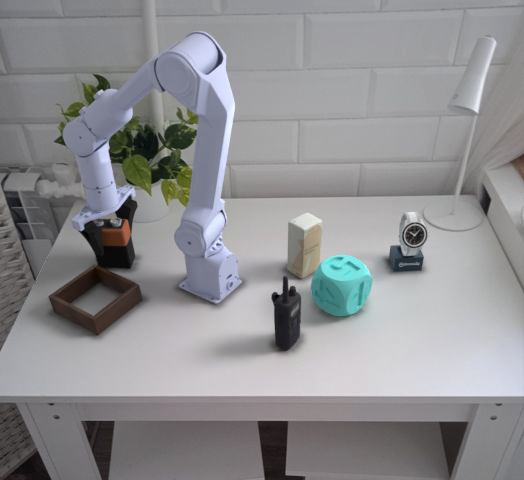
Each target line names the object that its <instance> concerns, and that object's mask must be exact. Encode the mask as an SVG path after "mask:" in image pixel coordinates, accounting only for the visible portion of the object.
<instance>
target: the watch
mask: <svg viewBox="0 0 524 480" xmlns="http://www.w3.org/2000/svg"><path fill="white" fill-rule="evenodd" d="M398 227H399V231H398V233H399V234H398V239H399V241H398V242H399V244H395V245H390V247H389V255H388V260H389V261H388V262H389V264H390V267H391V269H392V272H394V273H398V272H414V271H415V272H417V271H422V270H423V264H424V260H425V259H424V258H425V256H424V254H423V252H422V249H423V248H424V245H425V244H426V242H427V241H428V237H430V231H428V229H427V227H426V226H425V223H424V221H423V218H421V217H420V215H419V213H418V212H417V211H408V212H402V214H401V218H400V222H399V226H398Z"/></svg>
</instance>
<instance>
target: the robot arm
mask: <svg viewBox="0 0 524 480" xmlns="http://www.w3.org/2000/svg"><path fill="white" fill-rule="evenodd" d="M153 90H157V91H158V93H160V94H163V93H165V92H167V93H168V94H169V95H170V96H171V97H173V98H174V99H175V100H176V101H178V102H179V103H180V104H181V105H182V106H184V107H185V109H187V110H189V112H191V113H192V114H194V115H196V116H197V126H196V134H195V135H196V137H195V142H194V143H195V144H194V152H193V162H192V168H191V169H192V170H191V179H190V187H189V196H188V197H189V198H188V202H187V204H186V207H185V209H184V211H183V214H182V215H181V218H180V224H179V226H178V228H176V229H175V231H174V235H173V238H174V242H175V245H176V246H177V248H178V249H179V250H180V252H181V253H182V254H183V256H184V263H185V269H186V276H187V277H186V279H184V280H183V281H182V282H180V283H179V284H178V288H179V289H180V290H181V289H182V290H183V291H186V292H188V293H190V294H193V295H194V296H197V297H199V298H202V299H204V300H206V301H208V302H211V303H212V304H215V305H218V304H220V303H221V302H222V301H223V300H224V299H225V298H227V297H228V296H229V295H230V294H231V293H232V292H233V291H235V290H236V289H237V288H238V287H239V286H240V285H241V284H242V283H243V281H242V279H240V275H239V274H240V273H239V260H238V259H239V258H238V257H237V255H236V254H235V253H233V252H232V251H231V250H229V249H228V248H227V247H226V246H225V244H224V242H223V241H224V240H223V230H224V229H225V228H226V227H227V224H228V216H227V213H226V210H225V207H226V201H225V200H224V199H223V198H222V192H223V185H224V178H225V173H226V167H227V160H228V154H229V149H230V141H231V136H232V129H233V123H234V117H235V111H236V101H235V98H234V93H233V91H232V87H231V83H230V80H229V75H228V73H227V53H226V52H225V51H224V50H223V49H222V47H221V45H220V44H219V43H218V42H217V40H216V39H215V37H213V36H212V35H211V34H210V33H208V32H206V31H203V30H194V31H192V32H190V33H188V34H187V35H186V37H185V38H184V39H182V40H181V39H180V40H178V41H177V42H175V43H173V44H171V45H170V46H169V47H167V48H165V49H164V50H162V51H161V52H159V53H158V54H156V55H154V56H153V57H152V58H150V59H149V60H148V61H146V62H145V63H144V64H143V65H142V66H141V67H140V68H139V69H138V70H137V71H136V72H134V74H133V75H132V76H131V77H130V78H129V79H128V80H127V81H126V82H125V83H124V84H123V85H122V86H121V87H120V88H119V89H115V88H107V89H105V90H103V89H100V90H98V91H97V92H95V94H94V95H93V98H94V101H92V102H91V104H89V105H88V106H83V107H82V108H81V109H79V110H78V113H79V115H78V116H77V117H76V118H74V119H72V120H71V121H69V122H66V124H65V126H64V128H63V130H62V139H63V141H64V144H65V146H66V147H67V148H68V150H69V151H70V152H72V153H73V154H74V156H75V160H76V165H77V169H78V172H79V176H80V180H81V184H82V188H83V191H84V196H85V202H86V204H85V205H83V207H82V208H81V209H80V211H78V212H77V214H76V215H75V216H74V217H72V218H71V219H70V221H71V226H72V229H74V230H76V231H78V232H79V233H80V235H82V237H83V238H84V239H85V241H86V242H87V243H88V245H89V246H90V248H91V250H92V251H93V254H94V255H95V254H97V255H99V256H103V255H104V248H103V244H102V229H103V228H100V227H98V226H96V224H95V223H94V222H93V221H94V220H95V219H101V218H103V217H105V216H108V215H110V214H113V213H114V214H115V216H116V217H117V218H120V219H127V220H128V223H129V228H130V232H131V235H132V232H133V224H134V223H133V222H134V218H135V213H136V211H137V209H138V208H139V207H138V201H137V200H135V199H134V198H135V197H137V195H136V190H135V186H132V185H129V184H125V185H124V186H122V187H119V188H117V185H116V180H115V175H114V171H113V167H112V161H111V156H110V152H109V150H110V144H109V143H110V139H111V137H113V135H115V134H116V133H117V132H119V130H121V129H122V128H123V127H124V126H126V125H127V124H128V123H129V122H130V121H131V120H132V118H133V114H134V110H133V107H134V106H135V105H136V104H138V103H139V102H140V101H141V100H142V99H144V98H145V97H146V96H147V95H149V94H150V93H151V92H152V91H153Z"/></svg>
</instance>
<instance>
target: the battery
mask: <svg viewBox="0 0 524 480" xmlns="http://www.w3.org/2000/svg"><path fill="white" fill-rule="evenodd" d="M93 222H94V223H95V224H96V226H98V227H100V228H103V229H102V244H103V248H104V255H103V256H99V255H97V254H95V253H94V256H95V260H96V263H97V264H96V265H98V266H100V267H103V268H105V269H119V270H120V269H123V270H129V269H132V267H133V264H134V262H135V260H136V252H135V247H134V242H133V238H132V234H131V232H130V228H129V223H128V220H127V219H120V218H117V216H116V217H113V218H97V219H95V220H94V221H93Z"/></svg>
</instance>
